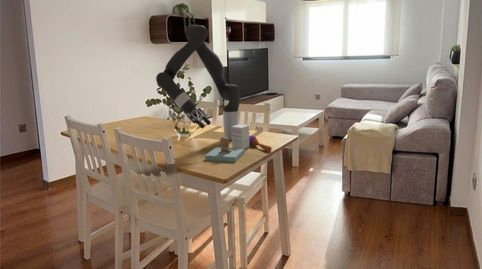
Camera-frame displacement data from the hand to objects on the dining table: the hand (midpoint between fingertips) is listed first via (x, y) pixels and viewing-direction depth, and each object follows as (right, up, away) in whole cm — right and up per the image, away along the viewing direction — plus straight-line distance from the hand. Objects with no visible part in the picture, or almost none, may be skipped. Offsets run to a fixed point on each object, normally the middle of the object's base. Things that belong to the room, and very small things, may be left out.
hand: (207, 125), depth 201 cm
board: (+9, -16, +1) cm, 19 cm away
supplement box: (+17, -12, +18) cm, 28 cm away
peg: (+9, -16, +1) cm, 19 cm away
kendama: (+27, -13, +17) cm, 34 cm away
